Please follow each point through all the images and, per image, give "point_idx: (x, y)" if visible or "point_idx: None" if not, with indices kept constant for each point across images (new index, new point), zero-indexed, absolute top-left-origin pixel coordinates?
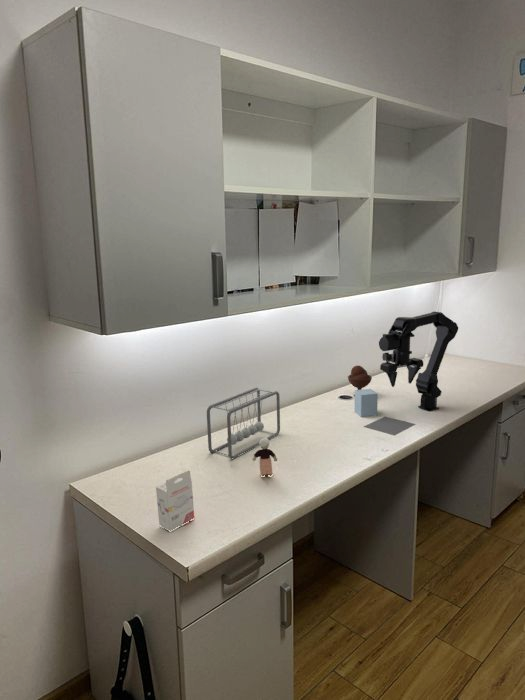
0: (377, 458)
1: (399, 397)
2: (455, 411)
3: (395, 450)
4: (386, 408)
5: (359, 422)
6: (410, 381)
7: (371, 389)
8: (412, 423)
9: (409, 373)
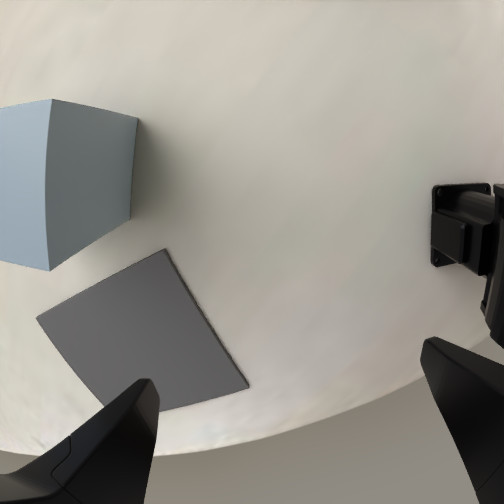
0: None
1: (432, 9)
2: None
3: None
4: (260, 108)
5: None
6: (430, 380)
7: (46, 126)
8: (239, 378)
9: (499, 418)
